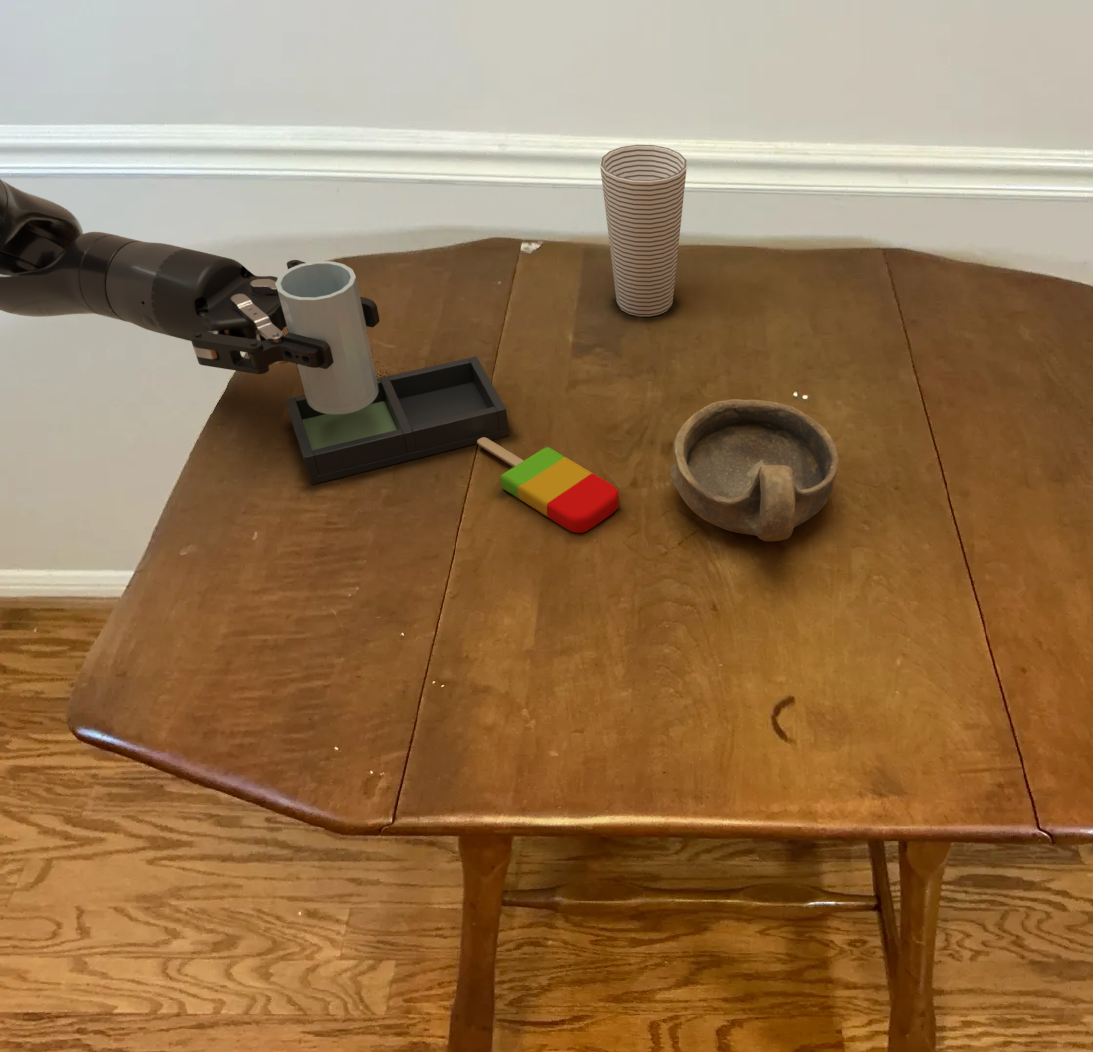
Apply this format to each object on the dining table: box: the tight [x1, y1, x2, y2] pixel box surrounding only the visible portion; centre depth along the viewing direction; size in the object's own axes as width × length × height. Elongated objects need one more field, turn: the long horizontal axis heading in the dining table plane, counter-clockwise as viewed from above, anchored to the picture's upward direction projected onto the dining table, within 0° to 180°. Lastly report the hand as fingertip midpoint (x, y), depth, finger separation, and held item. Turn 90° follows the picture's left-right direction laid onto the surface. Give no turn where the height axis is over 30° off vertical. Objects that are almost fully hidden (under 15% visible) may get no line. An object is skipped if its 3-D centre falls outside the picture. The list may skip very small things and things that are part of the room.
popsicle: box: [476, 437, 620, 534], centre depth 91 cm, size 6×15×2 cm, turn 50°
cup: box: [599, 144, 688, 317], centre depth 109 cm, size 8×8×16 cm
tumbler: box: [275, 260, 379, 415], centre depth 88 cm, size 6×6×11 cm
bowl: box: [669, 398, 840, 542], centre depth 86 cm, size 14×18×10 cm
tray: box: [285, 355, 510, 485], centre depth 96 cm, size 17×9×3 cm, turn 115°
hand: (352, 334), depth 87 cm, fingers closed on tumbler, 6 cm apart
